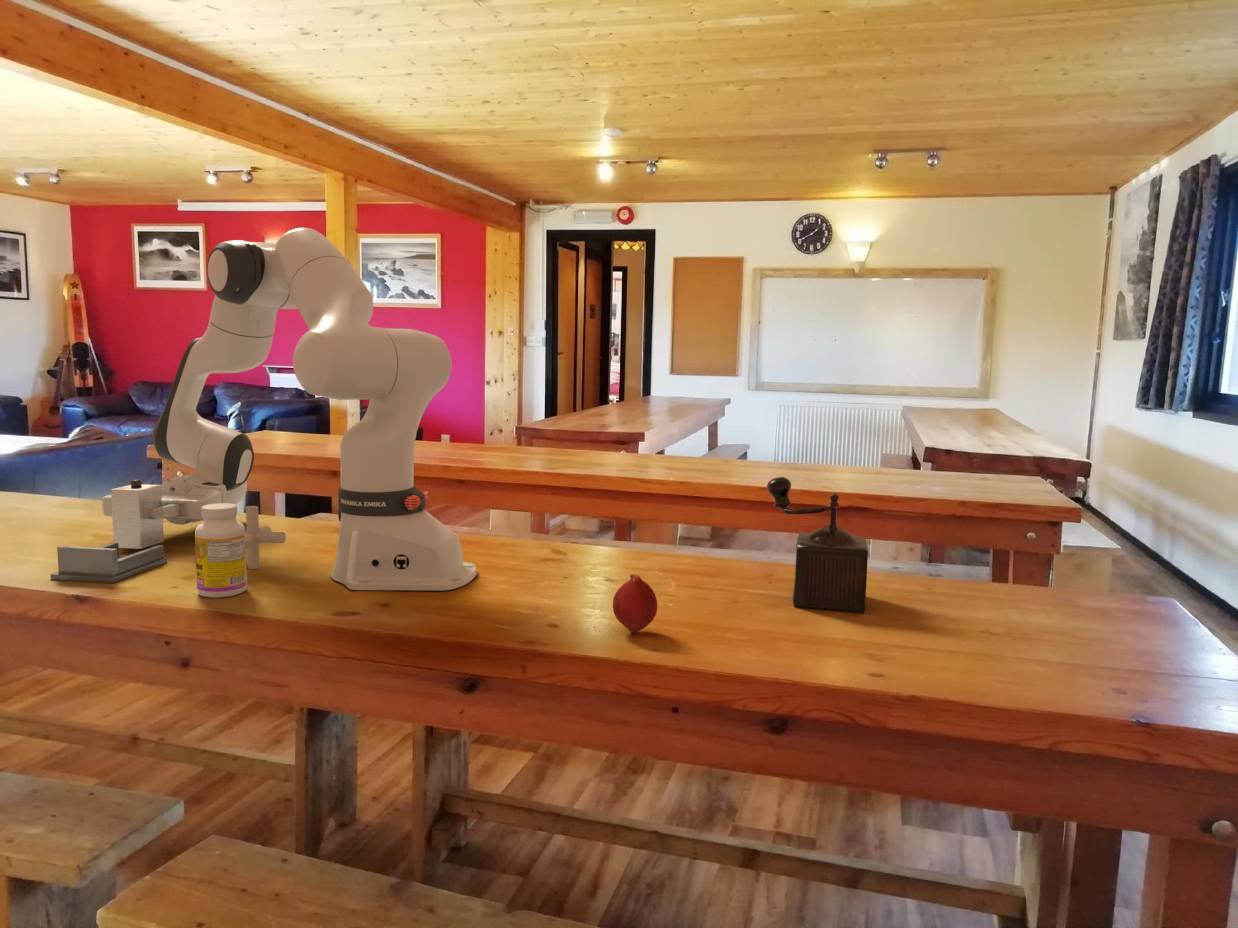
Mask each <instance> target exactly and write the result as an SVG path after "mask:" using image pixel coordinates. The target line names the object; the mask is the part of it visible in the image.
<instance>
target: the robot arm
mask: <svg viewBox="0 0 1238 928" xmlns="http://www.w3.org/2000/svg"><path fill="white" fill-rule="evenodd" d="M206 275H207V281H208V284H209V287H210V289H211V290H212V292H213V293H214V297H213V301H212V305H211V308H210V316H209V321H208V325H207V328H206V330H205V332H204V333H203V335H202V336H201V337H197V338H194V339H193V340H192V341H191V342H190V343H189V344H188V345H187V347H186V349H185V351H184V353H183V355H182V358H181V360H180V362H179V364H178V365H179V366H178V368H177V371H176V373H175V375H174V379H173V382H172V386H171V388H170V392H169V395H168V398H167V401H166V403H165V406H164V409H163V410H162V413H161V415H160V416H159V419H158V420H157V422H156V423H155V426H154V427H153V431H152V436H151V439H152V443H153V446H154V448H155V451H156V452H157V455H158V456H159V457H160V458H161V459H164V460H166V461H170V462H174V463H178V464H183V465H185V466H188V467H190V468H193V469H195V471H193V473H190V474H186V475H181V476H177V477H172V478H169V479H167V480H166V481H164V482H163V483H162V484H160V485H161V491H162V507H154V508H150V509H149V510H148V514H149V515H148V518H149V519H160V518H163V520H164V519H165V520H166V521H168V522H169V523H170V524H174V525H178V526H179V525H181V526H183V525H188V524H191V523H198V522H201V521H204V518H203V516H202V515H201V507H202V506H205V505H209V504H218V503H231V504H236V505H238V504H239V503H240V502H241V501H242V500H243V499H244V498H245V495H246V493H247V488H248V483H247V480H248V478H249V476H250V473H251V471H252V469H253V465H254V460H255V453H254V447H253V445H252V441H251V439H250V437H249V436H248V435H247V434H245V433H242V432H240V431H238V430H235V429H234V428H233V429H232V428H230V427H228V426H225V425H221V424H219V423H217V422H214V421H211V420H208V419H206V418H204V417H202V416H201V415H200V414H199V413H198V411H197V406H198V404H199V402H200V397H201V396H202V392H203V389H204V387H205V384H206V381H207V378H208V377H209V376H210V375H211V374H234V373H235V374H236V373H242V372H248V371H250V370H253V369H254V368H257V367H259V366H261V365H262V364H263V363H264V362H265V361H266V360H267V359H268V356H269V355H270V352H271V348H272V344H273V341H274V335H275V328H276V323H277V314H278V311H279V310H298V312H299V313H300V315H301V317H302V318H303V320H304V322H305V324H306V326H307V329H308V331H306V332H305V333H304V334H303V335H302V336H301V337H300V338H299V340H298V342H297V343H296V346H295V348H294V351H293V354H292V355H293V357H292V367H293V372H294V374H295V377H296V380H297V381H298V383H299V385H300V386H301V388H303V389H304V391H305V392H306V393H308V394H310V395H313V396H316V397H322V398H326V399H332V400H338V401H353V400H354V401H355V400H357V401H358V400H359V401H360V400H369V404H368V405H367V406H368V407H367V409H366V411H365V413H364V415H363V417H362V418H361V420H360V421H358V422H357V423H356V424H355V425H353V426H351V427H350V428H349V429H348V430H347V431H346V432H344V434H343V436H342V438H341V441H340V445H339V446H340V448H339V449H340V486H339V488H337V515H338V522H339V533H338V534H339V536H338V541H337V542H338V543H337V549H336V550H337V551H336V556H335V559H334V565H333V566H332V567H333V568H332V571H331V574H330V577H331V579H333V581H336V582H339V583H341V584H343V585H345V586H346V588H347V590H352V591H450V590H454V589H458V588H460V587H463V586H465V585H467V584H469V583H470V582H471V581H472V580H473V579H474V578H475V577H476V576H477V567H476V565H475V564H474V563H472V562H466V561H464V559H463V558H464V557H463V550H462V546H461V542H460V539H459V537H458V535H457V533H455V532H454V531H453V530H451V529H449V528H448V527H447V526H446V525H445V524H443V523H442V522H441V521H440V520H439V519H437V518H436V517H434V516H433V515H432V514H430V513H429V512H428V511H427V510H426V499H428V498H429V496H427V495H428V494H429V491H428V490H426V491H424V492H422V490H420V489H419V488H418V487H417V486H415V485H414V475H415V473H414V471H415V470H414V468H415V466H414V465H415V464H414V463H415V446H416V438H417V433H418V430H419V429H418V428H419V425H420V423H421V419H422V417H423V415H424V413H425V411H426V409H427V408H428V405H429V404H430V402H431V401H432V400H433V398H434V397H435V396H436V395H437V394H438V393H439V392H440V391H441V390H443V388H445V387H446V385H447V383H448V381H449V380H450V377H451V373H452V367H453V366H452V365H453V363H452V357H451V356H452V355H451V353H450V350H449V347H448V346H447V345H446V342H444V340H443V339H442V338H441V337H439V336H437V335H434V334H432V333H427V332H425V331H420V330H417V329H413V328H391V327H390V328H389V327H376V326H372V325H371V324H369V322H370V321H371V319H372V316H373V313H374V300H373V295H372V294H371V291H370V290H369V289H368V287H367V286H366V284H365V283H364V282H363V280H362V279H361V277H360V276H359V274H358V273H357V271H356V270H355V268H354V267H353V265H352V264H351V263H350V262H349V261H348V259H347V258H346V256H345V255H344V254H343V253H342V251H341V250H339V248H337V246H335V244H333V243H332V241H330V240H329V239H328V238H327V237H326V236H325V235H323V234H322V233H320V232H319V231H317V230H316V229H314V228H313V229H312V228H309V227H296V228H293V229H291V230H288V231H286V232H285V233H284V234H283V235H281V236H280V237H279V239H278V240H277V242H276V243H275V242H265V241H264V242H262V241H261V242H260V241H247V240H242V239H236V240H235V239H233V240H227V241H223V242H222V241H221V242H220V243H217V245H215V247H214V248H213V249H212V250H211V251H210V254H209V256H208V260H207V264H206ZM101 508H102V513H103V515H104V516H105V517H112V501H111V494H108V495H105V496H103V497H102V501H101Z"/></svg>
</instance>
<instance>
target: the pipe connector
mask: <svg viewBox="0 0 1238 928" xmlns="http://www.w3.org/2000/svg"><path fill="white" fill-rule="evenodd" d="M245 518H246V521H245V522H246V530H245V544H246V562H247V569H248V570H249V569H250V570H257V569H260V567H261V562H260V561H261V560H260V544H285V542H286V535H287V534H286V532H284V531H283V532H282V531H281V532H279V531H272V529H271V527H270V526H269V525H263V526H260V527H259V524H260V523H259V506H258V505H257V506H256V505H247V506H246V507H245Z"/></svg>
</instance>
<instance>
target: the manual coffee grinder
mask: <svg viewBox="0 0 1238 928" xmlns="http://www.w3.org/2000/svg"><path fill="white" fill-rule="evenodd" d="M766 484H767V485H766V490H767V492H768V493H769V494H770V495H771V496H772V498H773V500H774V501H773V502H774V503H773V507H774V508H779V509H780V511H781V512H782V513H783V514H785V515H807V514H808V515H809V514H818V513H823V512H824V513H825V511H829V510H830V516H829V524H828V525H823V526H822V527H821V528H818V529H816V530H814V531H812V532H803V531H799V533H798V535H797V538H796V544H795V547H796V553H795V566H794V582H793V591H792V597H791V599H792V600H791V601H792V604H793V607H794V608H797V609H804V610H814V611H826V612H835V613H850V614H851V613H852V614H853V613H854V614H865V611H866V608H867V607H866V606H867V605H866V595H867V580H868V579H867V578H868V577H867V576H868V560H869V559H868V557H869V556H868V555H869V550H868V549H869V548H868V544H867V540H866V537H865V536H857V535H853V534H852V533H850V532H849V531H847V530H845V529H844V528H843V527H840V526H837V513H838V512H837V511H838V509H839V508H840V504H839V502H838V501H839V500H840V499H839V498H840V496H839V495H838V493H836V492H835V493H832V494H831V495H830V496H829V499H830V502H829V505H823V506H816V507H805V508H804V507H802V508H789V506H790V505H792V501H791V500H790V497H789V494H790V491H791V489H792V482H791V480H790V479H788V478H786V477H785V476H780V477H779V476H777V477H774V478H773V477H772V479H771V480H769V481H768V482H767V483H766Z"/></svg>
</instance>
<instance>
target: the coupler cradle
mask: <svg viewBox="0 0 1238 928" xmlns="http://www.w3.org/2000/svg"><path fill="white" fill-rule="evenodd" d="M56 549H57V550H56V552H57V569H58V571H57V572H53V573H51V574H50V580H52V581H53V580H54V581H66V582H67V581H69V582H70V581H71V582H82V583H83V582H84V583H99V584H100V583H102V584H103V583H104V584H114V583H117V582H120V581H123V580H125V579H128V578H130V577H132V576H136V575H138V574H141V573H143V572H146V571H149V570H151V569H154V568H157V567H159V566H162V565H164V564H168V557H165V546H164V545H162V544H161V545H159V544H157V545H153V546H152V547H151V546H150V547H149V548H145V549H143V550H140V551H137V552H134V553H131V554H129V555H128V554H120V548H119V547H118V543H114V542H110V543H107V544H104V545H100V546H97V547H93V546H92V547H91V546H74V545H59V546H57V547H56ZM140 572H141V573H140Z"/></svg>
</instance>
